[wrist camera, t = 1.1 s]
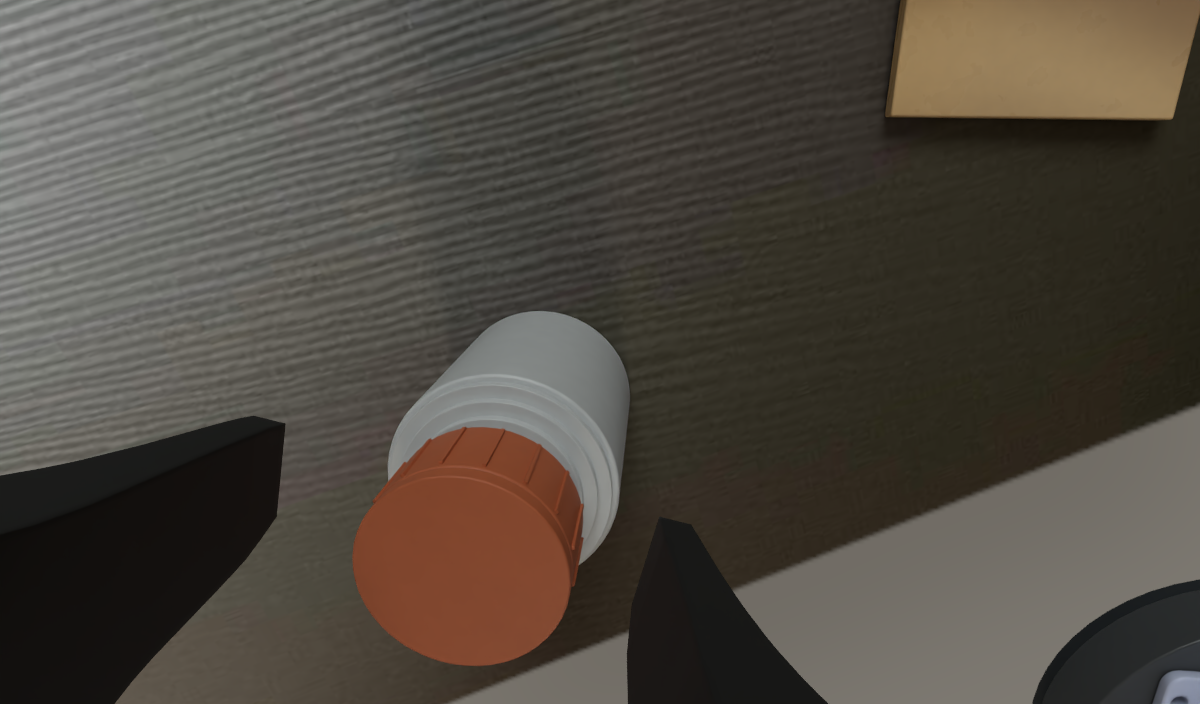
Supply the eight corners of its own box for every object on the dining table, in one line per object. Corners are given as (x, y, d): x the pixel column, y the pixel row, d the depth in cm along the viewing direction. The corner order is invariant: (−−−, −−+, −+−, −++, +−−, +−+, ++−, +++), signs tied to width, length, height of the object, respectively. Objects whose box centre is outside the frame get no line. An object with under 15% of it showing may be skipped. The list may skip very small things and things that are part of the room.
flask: (627, 476, 24) (607, 688, 14) (463, 467, 24) (341, 667, 15) (632, 313, 22) (613, 436, 13) (455, 307, 22) (310, 421, 13)
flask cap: (583, 600, 16) (571, 675, 14) (402, 587, 16) (361, 659, 14) (585, 429, 15) (572, 481, 12) (388, 419, 15) (339, 469, 13)
